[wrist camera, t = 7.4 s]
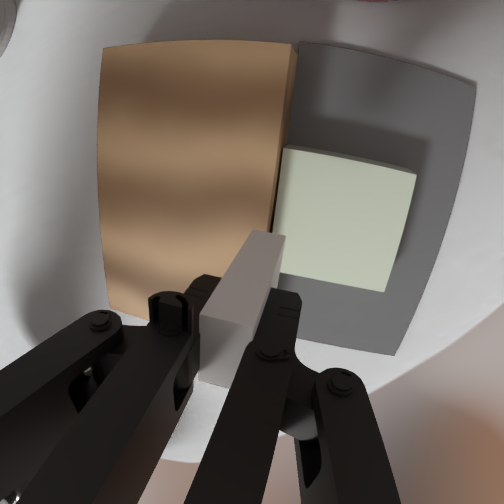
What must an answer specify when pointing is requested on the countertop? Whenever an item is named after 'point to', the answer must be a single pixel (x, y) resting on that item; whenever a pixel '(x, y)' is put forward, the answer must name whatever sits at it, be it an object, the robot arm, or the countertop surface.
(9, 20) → the glass holder
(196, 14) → the countertop surface
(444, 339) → the countertop surface
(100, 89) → the plate
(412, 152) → the mat
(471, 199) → the countertop surface
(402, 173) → the coaster
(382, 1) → the canister
